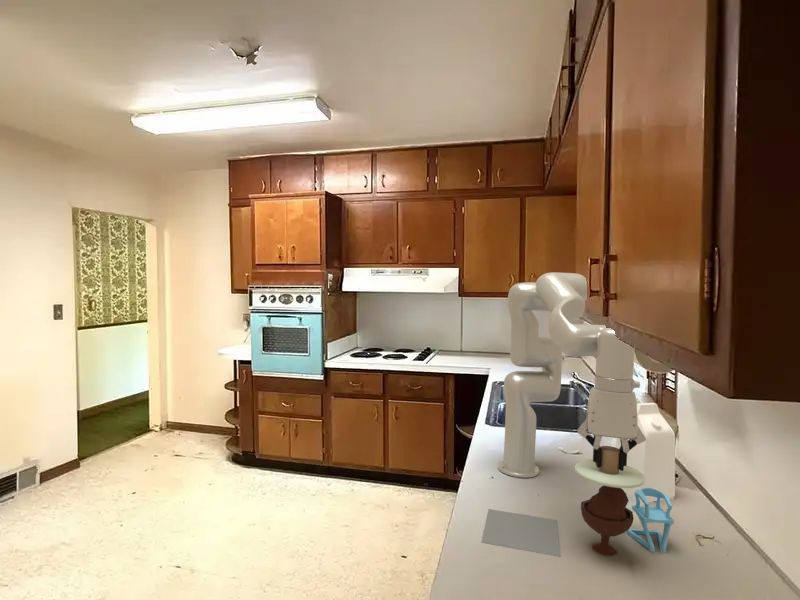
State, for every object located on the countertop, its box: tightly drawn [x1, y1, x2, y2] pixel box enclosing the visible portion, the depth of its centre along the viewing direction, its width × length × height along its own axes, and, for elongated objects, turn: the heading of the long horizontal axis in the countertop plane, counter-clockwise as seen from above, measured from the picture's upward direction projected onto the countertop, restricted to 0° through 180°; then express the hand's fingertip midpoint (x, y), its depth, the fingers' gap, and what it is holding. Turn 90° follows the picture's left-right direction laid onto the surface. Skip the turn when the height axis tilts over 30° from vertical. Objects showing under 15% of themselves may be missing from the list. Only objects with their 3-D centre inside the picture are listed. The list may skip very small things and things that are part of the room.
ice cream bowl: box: [580, 485, 635, 557], centre depth 107 cm, size 11×11×15 cm
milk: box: [615, 402, 676, 505], centre depth 139 cm, size 12×12×26 cm
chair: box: [626, 488, 675, 554], centre depth 112 cm, size 8×8×12 cm
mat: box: [480, 508, 562, 558], centre depth 114 cm, size 17×17×1 cm
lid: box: [574, 445, 644, 488], centre depth 107 cm, size 14×14×6 cm
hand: (609, 466), depth 107 cm, fingers closed on lid, 4 cm apart
